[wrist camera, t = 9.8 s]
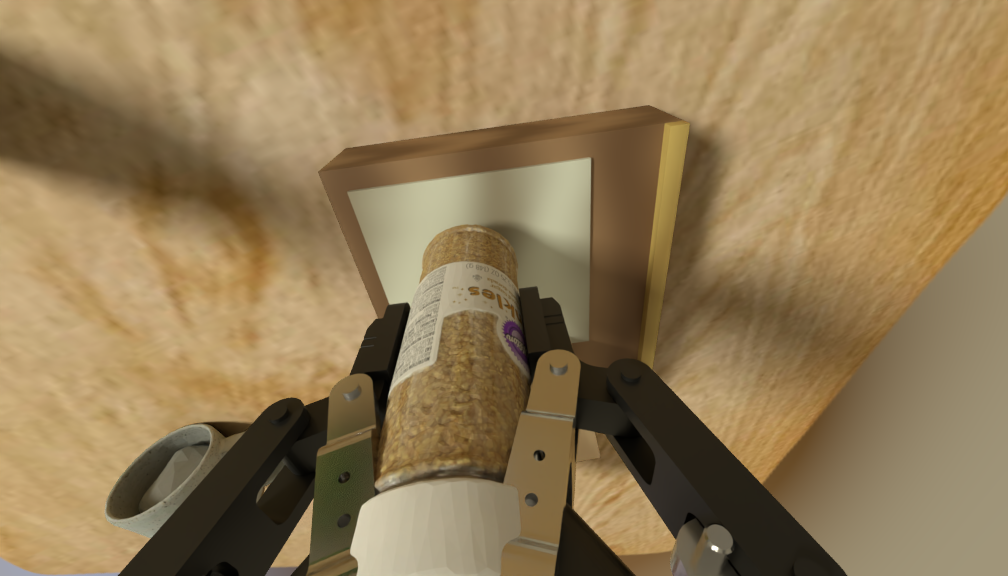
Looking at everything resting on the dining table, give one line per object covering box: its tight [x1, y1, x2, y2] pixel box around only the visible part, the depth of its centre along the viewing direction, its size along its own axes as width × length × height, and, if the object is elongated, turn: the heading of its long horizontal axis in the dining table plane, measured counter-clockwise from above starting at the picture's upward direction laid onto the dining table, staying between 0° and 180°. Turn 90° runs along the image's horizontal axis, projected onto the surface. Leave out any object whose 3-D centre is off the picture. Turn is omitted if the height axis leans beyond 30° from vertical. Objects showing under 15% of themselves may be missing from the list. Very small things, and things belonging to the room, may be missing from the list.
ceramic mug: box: [105, 423, 285, 538], centre depth 31 cm, size 11×8×8 cm
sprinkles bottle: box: [350, 224, 536, 576], centre depth 12 cm, size 5×5×13 cm
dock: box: [318, 105, 690, 369], centre depth 22 cm, size 16×16×5 cm
